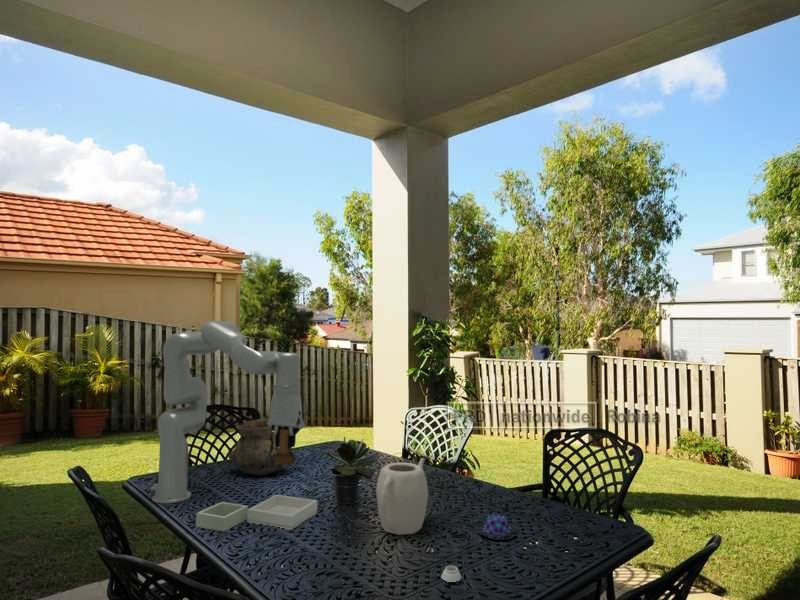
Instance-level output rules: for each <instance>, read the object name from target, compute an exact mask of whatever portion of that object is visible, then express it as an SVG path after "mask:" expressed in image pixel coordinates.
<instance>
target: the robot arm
mask: <svg viewBox="0 0 800 600" xmlns="http://www.w3.org/2000/svg"><path fill="white" fill-rule="evenodd" d="M247 344H248V339H247V336H246V335H245V334H243V333H241V332H240V329H239V327H238V326H237V324H235V323H234V322H232V321H229V320H209V321H207V322H204V324H202V326H201V327H200V330H199V331H191V330H190V331H188V330H187V331H179V332H175V333H173V334H171V335H169V336H168V338H167V339H165V342H164V344H163V351H162V355H163V362H164V363H163V364H164V372H163V373H164V374H163V400H164V402H165V403H166V404H167V405H170V406H177V405H184V407H178V408H177V407H176V408H171V409H167V410H166V411H164V412H163V413H162V414H160V416H159V417H158V421H157V430H158V435H159V454H158V455H159V460H158V475H157V476H158V480H157V483H156V482H155V483H153V486H151V487H150V491H154V493H155V494H154V495H153V496H152V502H154V503H156V504H165V505H166V504H174V503H181V502H183V501H186V500H188V499H190V498H191V497H192V491H190V490H188V486H187V485H188V467H189V443H188V440H187V439H186V437H185V434H189V433H194V432H196V431H197V432H198V431H200V430H201V429H203V427H204V425H205V423H206V420H207V401H208V399H207V398H208V396H207V395H208V394H207V393H208V391H207V387H206V384H205V381H204V380H202V379H201V378H200V377H196V376H190V375H191V366H190V362H189V360H188V358H187V357H186V356H189V355H190V356H191V355H192V356H195V355H208V354H211V353H215V352H218V351H221V352H223V353H224V354H226V355H228V356H229V358H230V360H231V361H232V363H233V364H234V365H235V366H237V367H238V368H239V369H242V370H244V371H245V372H247V373H249V374H252V375H256V376H257V375H258V376H259V375H270V374H271V375H272V374H275V385H273V386H272V390H274V391H275V392H274V393H273V394H272V397H271V400H270V406H269V407H270V408H269V414H268V415H269V416H268V417H269V418H268V421H267V423H266V424H267V426H268V427H269V426H270V427H271V428H272V430H273V432H274V434H276V435H275V443H276V447H278V446H279V433H280V428H281V427H283V426H288V427H289V432H290V435H289V436H288V448H291V449H292V448H294V447H295V445H296V435H297V434H299V432H300V431H301V430H302V429H303V428H305V427H306V423H305V421H304V420H303V406H302V397H301V394H299V393H300V392H299V390H300V389H299V388H300V387H299V386H300V366H301V365H300V359H301V358H300V354H299V353H296V352H282V351H276V350H271V351H268V350H266V351H265V350H263V351H257V350H255V349H253V348H251V347H249V346H247ZM278 448H279V447H278Z"/></svg>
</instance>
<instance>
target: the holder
mask: <svg viewBox="0 0 800 600" xmlns="http://www.w3.org/2000/svg"><path fill="white" fill-rule="evenodd" d="M248 509H249V505H243V504H239V503H231V502H226V501H221V502H219V503H216V504H214V505H212V506H210V507H207V508H204V509H203V510H201V511H198V512H197V513H196V515H195V517H196V519H195V527H197V528H201V529H207V530H213V531H218V532H226V531H228V530H230V529H232V528H234V527H236V526H237V525H240V524H241V523H243V522H244V521H247V520H246V519H247V511H248Z"/></svg>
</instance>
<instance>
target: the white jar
mask: <svg viewBox="0 0 800 600" xmlns="http://www.w3.org/2000/svg"><path fill="white" fill-rule="evenodd" d="M441 578H442V579H443V580H445V581H447V582H456V581H459V580H460V579H461V578H462V579H463V577H462V575H461V573H460V571H459V569H458V567H457V566H455V565H447V566H445V568H444V570H443V571H442V574H441V576H440V579H441Z"/></svg>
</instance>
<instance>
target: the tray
mask: <svg viewBox="0 0 800 600" xmlns="http://www.w3.org/2000/svg"><path fill="white" fill-rule="evenodd" d="M317 513H318V500H316V499H310V498H309V499H308V498H304V497H303V498H302V497H295V496H289V495H282V494H275V495H273V496H271V497H270V498H269V497H268V498H267V499H265V500H264V501H261V502H260V503H257V504H256V505H253V506H252V507H250V508H249V507H248V511H247V520H246V523H247V522H248V524H253V523H255V525H259V524H263V525H262V526H265V525H270V526H269V527H271V526H275V527H274V528H276V527H280V528H279V529H282V528H284V530H287V531H288V530H289V531H292V530H293V529H295V528H296V527H298V526H299V525H301V524H303V522H306V521H307V520H309V519H310V518H312V517H313V516H314V515H316V514H317ZM308 518H309V519H308ZM305 520H306V521H305Z"/></svg>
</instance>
